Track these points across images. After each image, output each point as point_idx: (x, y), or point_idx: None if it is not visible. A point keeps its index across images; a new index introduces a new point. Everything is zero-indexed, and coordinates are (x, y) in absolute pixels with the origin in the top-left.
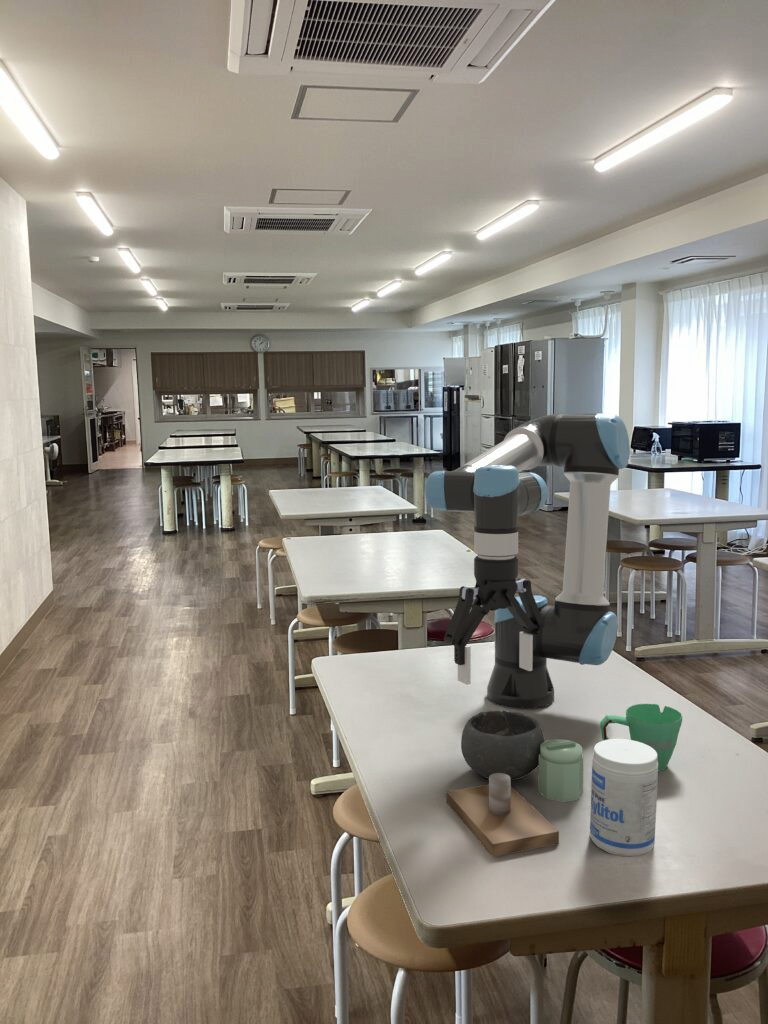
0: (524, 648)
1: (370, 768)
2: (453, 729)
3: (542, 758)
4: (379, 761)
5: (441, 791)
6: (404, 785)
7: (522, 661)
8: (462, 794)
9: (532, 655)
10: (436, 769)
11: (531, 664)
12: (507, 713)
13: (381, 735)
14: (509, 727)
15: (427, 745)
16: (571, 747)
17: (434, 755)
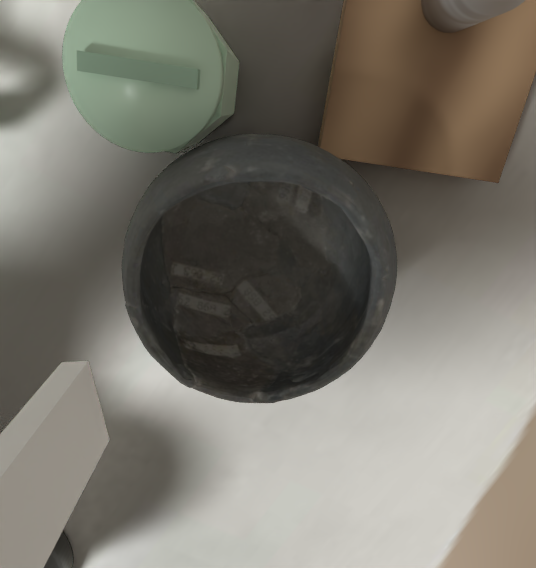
0: (26, 518)
1: (512, 410)
2: (228, 485)
3: (223, 87)
4: (472, 429)
5: (452, 238)
6: (506, 306)
7: (84, 448)
8: (474, 145)
9: (2, 431)
10: (387, 340)
11: (49, 386)
12: (180, 370)
13: (387, 524)
14: (180, 346)
15: (329, 447)
16: (104, 48)
17: (346, 400)
